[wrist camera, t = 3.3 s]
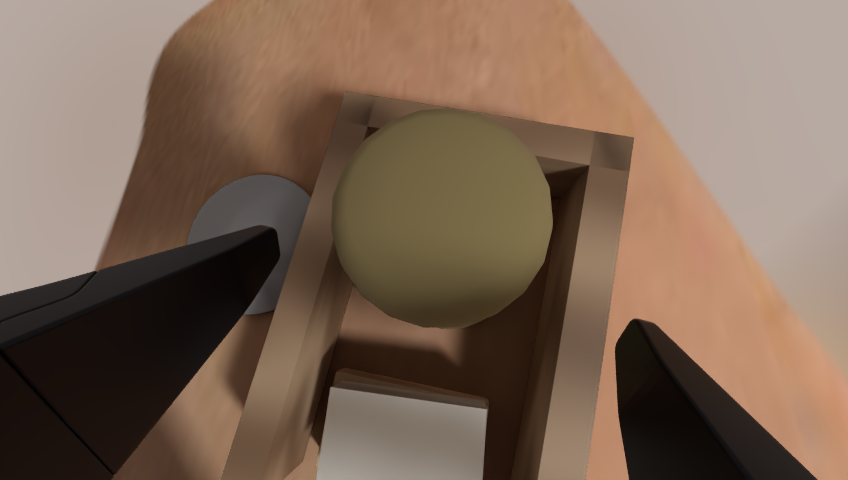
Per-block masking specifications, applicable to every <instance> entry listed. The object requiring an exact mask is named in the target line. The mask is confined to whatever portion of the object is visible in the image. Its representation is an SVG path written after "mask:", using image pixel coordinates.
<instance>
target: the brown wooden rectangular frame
mask: <svg viewBox="0 0 848 480" xmlns="http://www.w3.org/2000/svg"><path fill="white" fill-rule="evenodd" d="M433 109H447V107H441V106H435V105H429V104H423V103H416V102H410V101H404V100H398V99H392V98H385V97H379V96H373V95H367V94H360V93H354V92H348V91H345V94H344V97H343V100H342V103H341V106H340V109H339V113H338V116H337V119H336V122H335V125H334V128H333V131H332V134H331V137H330V141H329V144H328V147H327V150H326V153H325V156H324V159H323V162H322V166H321V169H320V172H319V175H318V178H317V181H316V184H315V187H314V191H313V194H312V197H311V200H310V203H309V206H308V209H307V212H306V215H305V219H304V222H303V225H302V228H301V231H300V234H299V237H298V240H297V244H296V247H295V250H294V253H293V256H292V259H291V262H290V265H289V269H288V272H287V275H286V278H285V281H284V284H283V287H282V290H281V293H280V297H279V300H278V303H277V306H276V309H275V312H274V315H273V318H272V322H271V325H270V328H269V331H268V334H267V337H266V340H265V343H264V347H263V350H262V353H261V356H260V359H259V362H258V365H257V368H256V371H255V375H254V378H253V381H252V384H251V387H250V390H249V393H248V396H247V400H246V403H245V406H244V409H243V412H242V415H241V418H240V421H239V425H238V428H237V431H236V434H235V437H234V440H233V443H232V446H231V449H230V453H229V456H228V459H227V462H226V465H225V468H224V471H223V474H222V478H221V480H283V479H284V478H285V477H286V476H288V475H289V474H290V473H291V472H292V471H293V470H294V469H295V468H296V467H297V466H298V465H299V464H300V463H301V462H302V461H303V458H304V455H305V451H306V448H307V444H308V441H309V437H310V433H311V430H312V426H313V423H314V419H315V416H316V412H317V409H318V405H319V402H320V398H321V395H322V391H323V388H324V384H325V380H326V377H327V373H328V370H329V366H330V363H331V359H332V356H333V352H334V349H335V345H336V342H337V338H338V335H339V331H340V327H341V324H342V320H343V317H344V313H345V310H346V306H347V303H348V299H349V296H350V292H351V289H352V285H353V282H352V281H351V279H350V278H349V276H348V275H347V273H346V272H345V270H344V269H343V267H342V265H341V263H340V260H339V257H338V253H337V250H336V246H335V243H334V239H333V236H332V232H331V217H332V197H333V194H334V192H335V189H336V186H337V184H338V181H339V178H340V176H341V173H342V170H343V168H344V166H345V165H346V164H347V162H348V161H349V160H350V158H351V157H352V156H353V154H354V153H355V152H356V150H357V149H358V148H359V147H360V145H361V144H362V143H363V141H364V140H365V139H366V138H368V137H369V136H371V135H372V134H373V133H375V132H376V131H377V130H379V129H380V128H382V127H383V126H384V125H386V124H387V123H388V122H390V121H392V120H395V119H397V118H400V117H403V116H406V115H408V114H411V113H414V112H417V111H419V110H433ZM451 109H454V108H451ZM456 110H460V109H456ZM460 111H465V112H469V113H474V114H479V115H482V116H484V117H486V118H488V119H490V120H492V121H493V122H495V123H497V124H499V125H501V126H502V127H504V128H506V129H508V130H509V131H511V132H513V133H514V134H515V135H516V136H517V137H518V138H519V139H520V141H521V142H522V143H523V144H524V145H525V146H526V147H527V148H528V149H529V150H530V151H531V152H532V153H533V154H534V155H535V157H536V159H537V161H538V163H539V165H540V167H541V170H542V172H543V174H544V176H545V178H546V180H547V183H548V185H549V187H550V196H553V197H558V198H561V200H560V205H559V211H558V217H557V222H556V228H555V233H554V239H553V245H552V250H551V256H550V261H549V267H548V273H547V278H546V284H545V290H544V295H543V301H542V306H541V312H540V318H539V323H538V329H537V334H536V340H535V346H534V351H533V357H532V362H531V368H530V374H529V379H528V385H527V390H526V396H525V402H524V407H523V413H522V418H521V424H520V430H519V435H518V441H517V446H516V452H515V458H514V463H513V469H512V474H511V480H586V474H587V467H588V460H589V453H590V446H591V439H592V432H593V424H594V417H595V410H596V403H597V396H598V389H599V382H600V375H601V368H602V361H603V354H604V347H605V340H606V333H607V326H608V319H609V312H610V304H611V297H612V290H613V283H614V276H615V269H616V262H617V255H618V248H619V241H620V234H621V227H622V220H623V213H624V206H625V199H626V191H627V184H628V177H629V170H630V163H631V156H632V149H633V142H634V137H628V136H621V135H615V134H609V133H603V132H597V131H590V130H584V129H578V128H572V127H566V126H559V125H553V124H547V123H541V122H534V121H528V120H522V119H516V118H510V117H503V116H497V115H491V114H485V113H479V112H472V111H466V110H460Z"/></svg>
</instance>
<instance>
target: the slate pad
mask: <svg viewBox="0 0 848 480" xmlns="http://www.w3.org/2000/svg"><path fill="white" fill-rule="evenodd" d="M310 200H311V196H310V195H309V194H308V193H307V192H305V191H304V190H303V189H302V188H301V187H299V186H298V185H296V184H295V183H293V182H291V181H289V180H287V179H285V178H282V177H279V176H274V175H252V176H247V177H243V178H240V179H238V180H235V181H233V182H231V183H229V184H227V185H226V186H224V187H222V188H221V189H220V190H218V191H217V192H216V193H215V194H213V195H212V196H211V197H210V198H209V199H208V200H207V202H206V203H205V204H204V205H203V206H202V208H201V209H200V211H199V212H198V214H197V215H196V218H195V220H194V222H193V224H192V226H191V229H190V232H189V236H188V240H187V245H189V244H193V243H196V242H200V241H203V240H207V239H210V238H214V237H217V236H221V235H225V234H228V233H232V232H235V231H239V230H242V229H246V228H249V227H253V226H256V225H265V226H269V227H273V228H274V229H276V231H277V234H278V240H279V247H280V259H279V261H278V263H277V264H276V266H275V268H274V269H273V271H272V272H271V274H270V275H269V277H268V279H267V280H266V282H265V283H264V285H263V286H262V288H261V289H260V291H259V293H258V294H257V296H256V297H255V299H254V300H253V302H252V303H251V305H250V306H249V307H248V309H247V310H246V311H245V313H244V314H243V315H250V314H262V313H267V312H270V311H273V310H275V309H276V306H277V303H278V300H279V297H280V293H281V290H282V287H283V284H284V281H285V278H286V275H287V272H288V269H289V265H290V262H291V259H292V256H293V253H294V250H295V247H296V244H297V240H298V237H299V234H300V231H301V228H302V225H303V222H304V219H305V215H306V212H307V209H308V206H309V203H310Z"/></svg>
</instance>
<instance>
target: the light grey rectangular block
mask: <svg viewBox="0 0 848 480" xmlns="http://www.w3.org/2000/svg"><path fill="white" fill-rule="evenodd" d="M488 410H489V402H488V399H487V398H485V397H480V396H476V395H471V394H466V393H462V392H457V391H452V390H448V389H443V388H438V387H434V386H429V385H424V384H420V383H415V382H410V381H405V380H401V379H396V378H391V377H387V376H382V375H377V374H373V373H368V372H363V371H359V370H354V369H349V368H342V369H340V370H338V371H336V374H335V379H334V383H333V386H332V387H330V394H329V400H328V406H327V413H326V419H325V424H324V429H323V433H322V438H321V443H320V447H319V452H318V456H317V461H316V465H315V467H318V471H317V477H316V480H482V479H483V464H484V449H485V434H486V425H487V418H488Z"/></svg>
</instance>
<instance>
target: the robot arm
mask: <svg viewBox="0 0 848 480" xmlns="http://www.w3.org/2000/svg"><path fill="white" fill-rule="evenodd" d="M279 259H280V247H279V240H278V234H277V231H276V229H274V228H273V227H269V226H265V225H256V226H253V227H249V228H246V229H242V230H239V231H235V232H232V233H228V234H225V235H221V236H217V237H214V238H210V239H207V240H203V241H200V242H196V243H193V244H189V245H186V246H182V247H179V248H175V249H171V250H168V251H164V252H161V253H157V254H154V255H150V256H147V257H143V258H140V259H136V260H133V261H129V262H125V263H122V264H118V265H115V266H111V267H108V268H104V269H101V270H99V271H98V272H97V271H93V272H90V273H86V274H83V275H79V276H76V277H72V278H68V279H65V280H61V281H57V282H54V283H50V284H46V285H43V286H39V287H34V288H31V289H27V290H23V291H18V292H14V293H10V294H6V295H3V296H0V480H112V478H113V477H114V474H116V473H117V472H118V471H119V469H120V468H121V467H122V466H123V464H124V463H125V462H126V461H127V459H128V458H129V457H130V456H131V454H132V453H133V452H134V451H135V449H136V448H137V447H138V446H139V444H140V443H141V442H142V440H143V439H144V438H145V437H146V435H147V434H148V433H149V432H150V430H151V429H152V428H153V427H154V425H155V424H156V423H157V422H158V420H159V419H160V418H161V417H162V415H163V414H164V413H165V412H166V410H167V409H168V408H169V407H170V405H171V404H172V403H173V402H174V400H175V399H176V398H177V397H178V395H179V394H180V393H181V392H182V390H183V389H184V388H185V387H186V385H187V384H188V383H189V382H190V380H191V379H192V378H193V377H194V375H195V374H196V373H197V372H198V370H199V369H200V368H201V367H202V365H203V364H204V363H205V362H206V360H207V359H208V358H209V357H210V355H211V354H212V353H213V352H214V350H215V349H216V348H217V347H218V345H219V344H220V343H221V342H222V340H223V339H224V338H225V337H226V335H227V334H228V333H229V332H230V330H231V329H232V328H233V327H234V325H235V324H236V323H237V322H238V320H239V319H240V318H241V317H242V315H243V314H244V313H245V311H246V310H247V309H248V307H249V306H250V305H251V303H252V302H253V300H254V299H255V297H256V296H257V294H258V293H259V291H260V289H261V288H262V286H263V285H264V283H265V282H266V280H267V279H268V277H269V275H270V274H271V272H272V271H273V269H274V268H275V266H276V264H277V263H278V261H279ZM615 361H616V381H617V402H618V414H619V421H620V428H621V434H622V440H623V446H624V451H625V457H626V463H627V469H628V475H629V480H817V479H816V478H815V477H814V476H813V475H812V474H811V473H810V472H809V471H808V470H807V469H806V468H805V467H804V466H803V465H802V464H801V463H800V462H799V461H798V460H797V459H796V458H795V457H793V456H792V455H791V454H790V453H789V452H788V451H787V450H786V449H785V448H784V447H783V446H782V445H781V444H780V443H779V442H778V441H777V440H776V439H775V438H774V437H773V436H772V435H771V434H770V433H768V432H767V431H766V430H765V429H764V428H763V427H762V426H761V425H760V424H759V423H758V422H757V421H756V420H755V419H754V418H753V417H752V416H751V415H750V414H749V413H748V412H747V411H746V410H744V409H743V408H742V407H741V406H740V405H739V404H738V403H737V402H736V401H735V400H734V399H733V398H732V397H731V396H730V395H729V394H728V393H727V392H726V391H725V390H724V389H723V388H722V387H721V386H719V385H718V384H717V383H716V382H715V381H714V380H713V379H712V378H711V377H710V376H709V375H708V374H707V373H706V372H705V371H704V370H703V369H702V368H701V367H700V366H699V365H698V364H697V363H695V362H694V361H693V360H692V359H691V358H690V357H689V356H688V355H687V354H686V353H685V352H684V351H683V350H682V349H681V348H680V347H679V346H678V345H677V344H676V343H675V342H674V341H673V340H672V339H670V338H669V337H668V336H667V335H666V334H665V333H664V332H663V331H662V330H661V329H660V328H659V327H658V326H657V325H656V324H654V323H652V322H649V321H645V320H641V319H633V320H631V321H630V322H629V324H628V325H627V327H626V329H625V330H624V332H623V333H622V335H621V336H620V338H619V339H618V341H617V343H616V347H615Z"/></svg>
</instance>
